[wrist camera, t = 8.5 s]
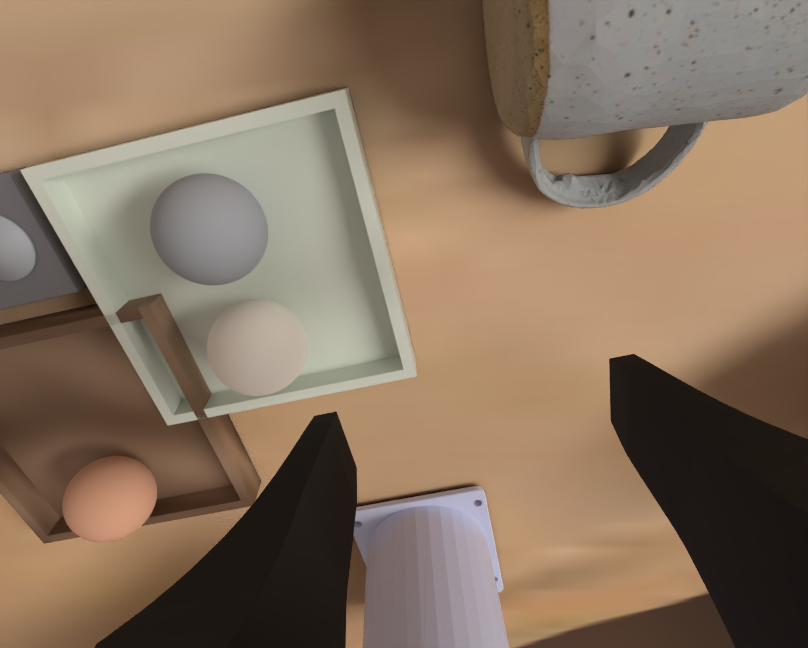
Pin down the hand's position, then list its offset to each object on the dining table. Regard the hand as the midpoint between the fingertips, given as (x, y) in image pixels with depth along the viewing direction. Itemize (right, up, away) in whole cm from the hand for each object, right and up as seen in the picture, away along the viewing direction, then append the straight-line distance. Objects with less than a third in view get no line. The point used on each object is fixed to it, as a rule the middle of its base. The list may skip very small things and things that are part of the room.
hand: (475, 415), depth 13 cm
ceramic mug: (+5, +13, +5) cm, 14 cm away
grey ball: (-9, +7, +7) cm, 13 cm away
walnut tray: (-17, -2, +12) cm, 21 cm away
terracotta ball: (-16, -5, +13) cm, 21 cm away
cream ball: (-8, +2, +9) cm, 12 cm away
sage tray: (-8, +5, +8) cm, 13 cm away
